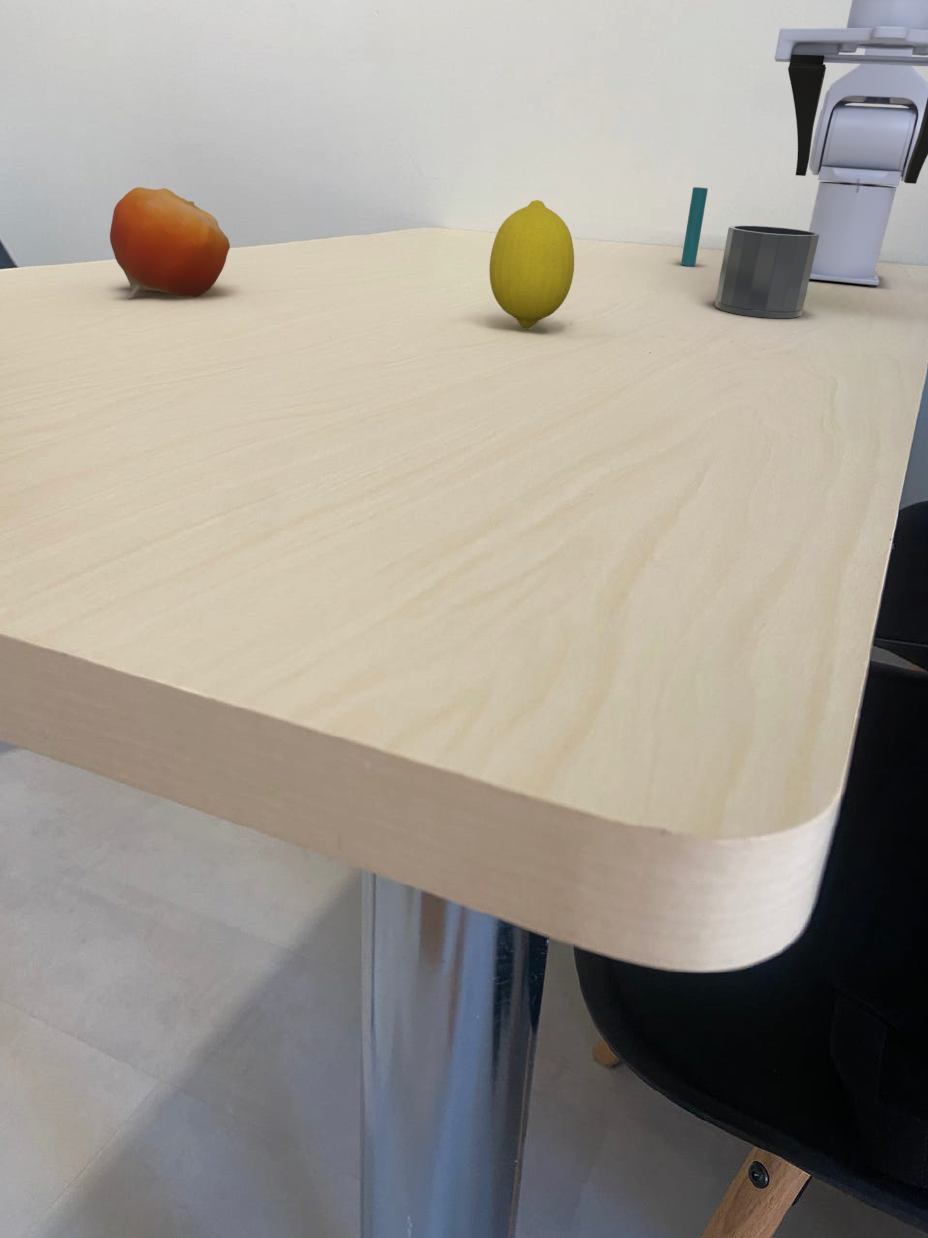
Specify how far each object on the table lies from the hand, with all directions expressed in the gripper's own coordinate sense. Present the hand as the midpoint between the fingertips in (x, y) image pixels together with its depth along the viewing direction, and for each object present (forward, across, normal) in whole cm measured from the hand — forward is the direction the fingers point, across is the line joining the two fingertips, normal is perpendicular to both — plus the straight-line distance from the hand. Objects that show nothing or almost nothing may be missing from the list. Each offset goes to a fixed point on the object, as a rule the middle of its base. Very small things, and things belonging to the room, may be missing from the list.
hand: (854, 179), depth 67 cm
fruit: (+10, -45, -22) cm, 51 cm away
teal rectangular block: (+10, -14, +25) cm, 30 cm away
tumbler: (+10, -5, 0) cm, 11 cm away
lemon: (+10, -19, -19) cm, 29 cm away
